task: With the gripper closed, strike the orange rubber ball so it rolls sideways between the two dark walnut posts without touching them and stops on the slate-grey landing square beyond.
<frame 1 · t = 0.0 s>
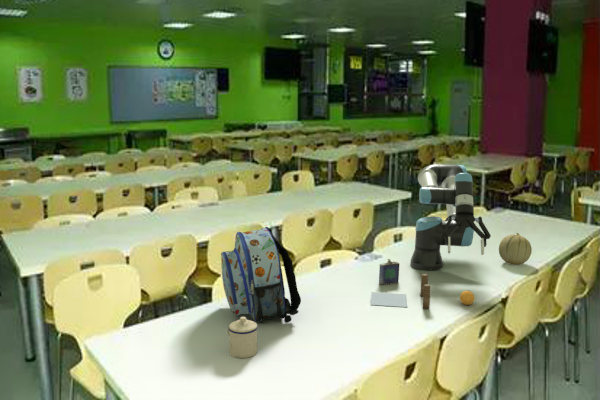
hand: (465, 253, 235), 15 cm above the table, tool tilted 35°, fingers open, 13 cm apart
post 2: (425, 307, 215), on the table
post 1: (423, 296, 228), on the table
flask: (388, 283, 243), on the table
cantaloupe: (513, 264, 271), on the table
backpack: (255, 312, 211), on the table
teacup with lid: (240, 351, 179), on the table
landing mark: (388, 299, 224), on the table
ball: (467, 297, 219), on the table
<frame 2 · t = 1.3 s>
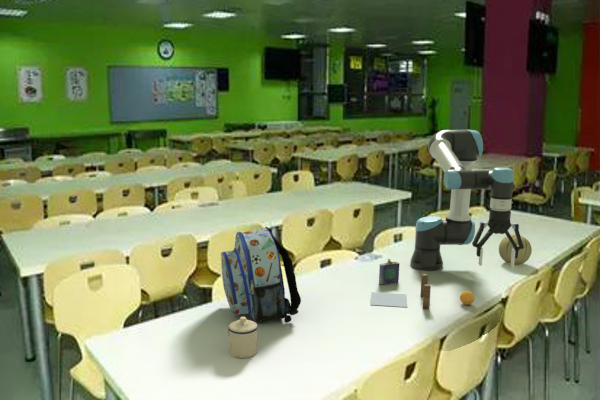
hand: (496, 265, 215), 16 cm above the table, tool pointing down, fingers open, 11 cm apart
nothing on the table moved.
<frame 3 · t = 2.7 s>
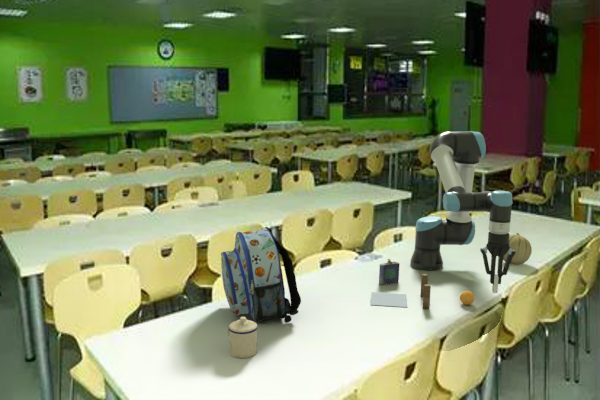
hand: (494, 291, 216), 6 cm above the table, tool pointing down, fingers closed
nothing on the table moved.
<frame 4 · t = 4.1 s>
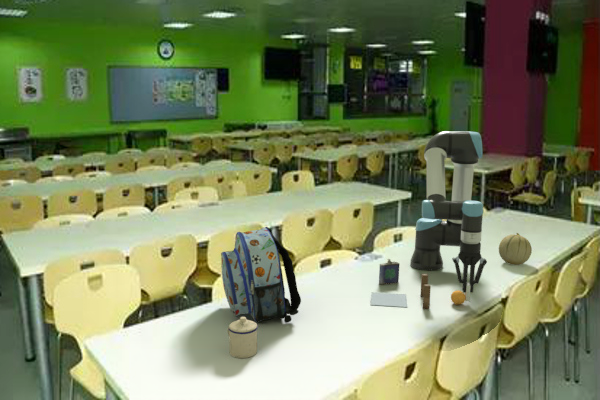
hand: (467, 300, 219), 2 cm above the table, tool pointing down, fingers closed
ball: (458, 297, 219), on the table, touching gripper
everything else where it was.
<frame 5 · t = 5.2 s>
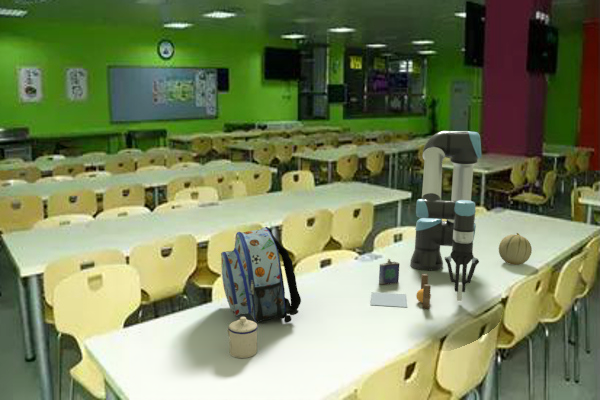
hand: (459, 299, 219), 2 cm above the table, tool pointing down, fingers closed
ball: (423, 295, 220), on the table
everything else where it was.
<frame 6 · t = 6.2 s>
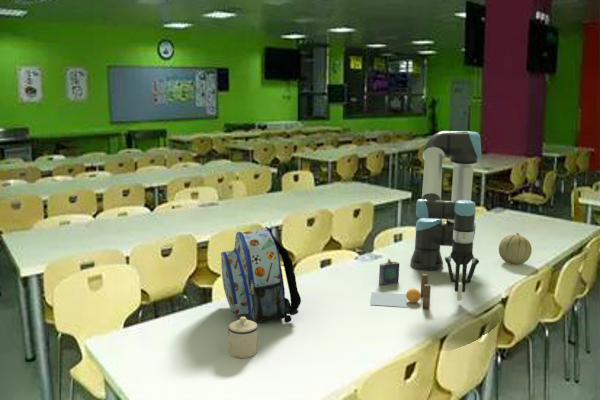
hand: (459, 299, 219), 2 cm above the table, tool pointing down, fingers closed
ball: (413, 295, 221), on the table
everything else where it was.
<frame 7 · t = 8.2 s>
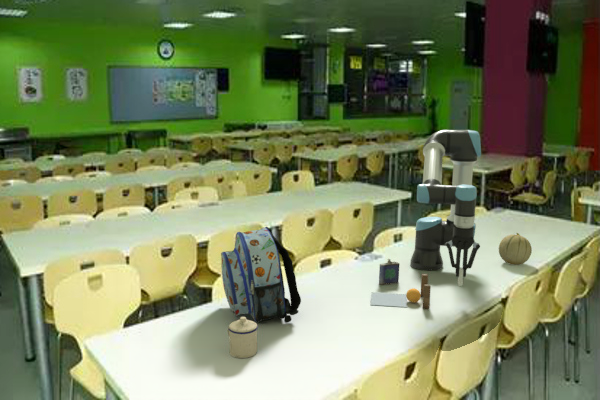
hand: (459, 284, 219), 8 cm above the table, tool pointing down, fingers closed
nothing on the table moved.
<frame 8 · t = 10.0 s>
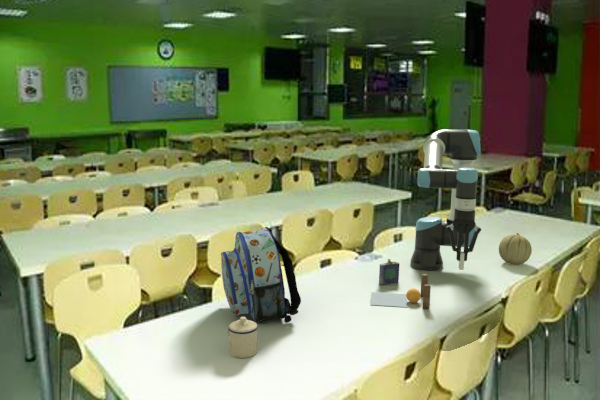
hand: (461, 268, 217), 14 cm above the table, tool pointing down, fingers closed
nothing on the table moved.
at the end: ball 9.5 cm from the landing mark (horizontally); ball never touched post 1; ball never touched post 2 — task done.
